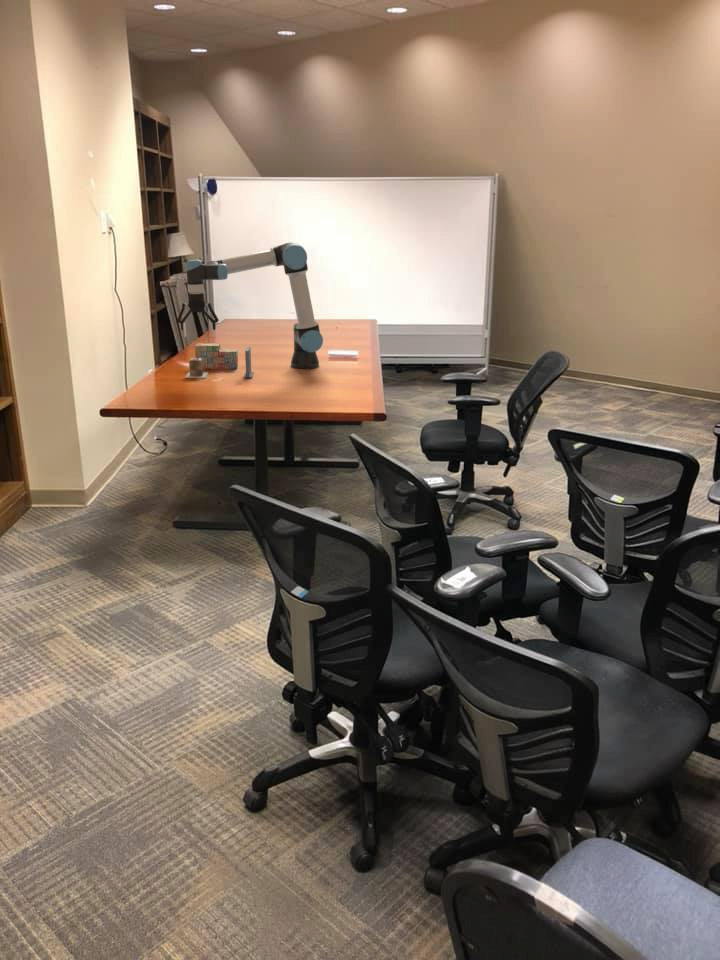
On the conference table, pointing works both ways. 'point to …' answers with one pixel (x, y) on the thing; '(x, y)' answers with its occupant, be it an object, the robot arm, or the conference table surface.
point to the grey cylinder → (196, 367)
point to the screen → (248, 364)
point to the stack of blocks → (216, 356)
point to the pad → (197, 376)
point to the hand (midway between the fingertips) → (199, 336)
